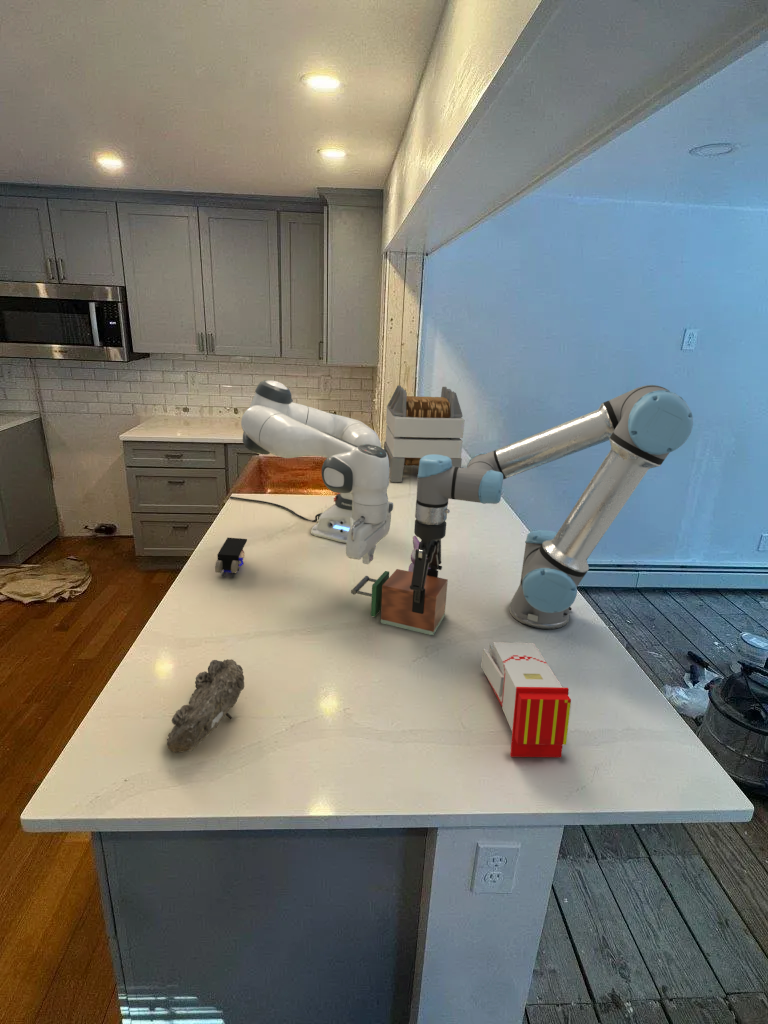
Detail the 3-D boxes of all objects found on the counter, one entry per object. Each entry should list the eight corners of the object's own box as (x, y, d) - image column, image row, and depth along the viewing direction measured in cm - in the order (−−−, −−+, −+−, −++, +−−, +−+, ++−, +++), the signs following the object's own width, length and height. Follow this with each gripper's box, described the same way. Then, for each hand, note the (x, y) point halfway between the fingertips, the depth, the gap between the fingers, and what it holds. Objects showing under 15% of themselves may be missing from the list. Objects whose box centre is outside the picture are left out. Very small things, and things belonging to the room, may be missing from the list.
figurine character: (238, 584, 162) (249, 557, 175) (236, 562, 158) (247, 536, 172) (215, 584, 161) (227, 556, 175) (212, 561, 158) (225, 535, 171)
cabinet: (380, 622, 143) (382, 585, 139) (394, 604, 152) (396, 568, 149) (433, 635, 138) (436, 597, 135) (444, 616, 148) (447, 579, 144)
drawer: (350, 611, 146) (351, 580, 143) (364, 595, 154) (365, 566, 151) (418, 627, 140) (420, 595, 137) (429, 610, 148) (431, 580, 145)
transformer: (382, 463, 289) (386, 382, 275) (445, 464, 293) (451, 384, 279) (390, 482, 257) (394, 392, 243) (460, 483, 261) (468, 394, 247)
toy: (531, 625, 126) (580, 695, 97) (526, 680, 129) (572, 765, 100) (477, 624, 126) (510, 694, 96) (473, 679, 129) (504, 764, 99)
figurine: (415, 595, 157) (419, 545, 152) (397, 579, 166) (400, 532, 161) (444, 589, 161) (448, 540, 156) (425, 574, 170) (428, 527, 165)
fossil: (192, 660, 117) (244, 628, 112) (224, 691, 120) (276, 661, 115) (142, 746, 98) (202, 712, 93) (182, 779, 101) (242, 748, 96)
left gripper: (364, 526, 130) (362, 580, 135) (395, 501, 148) (393, 550, 153) (340, 522, 132) (338, 575, 137) (373, 497, 150) (371, 545, 155)
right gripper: (431, 539, 124) (425, 627, 131) (458, 508, 144) (450, 586, 151) (399, 533, 126) (394, 620, 134) (429, 503, 146) (424, 580, 154)
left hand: (367, 562), depth 145 cm, fingers closed
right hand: (424, 602), depth 142 cm, fingers closed on cabinet, 10 cm apart
